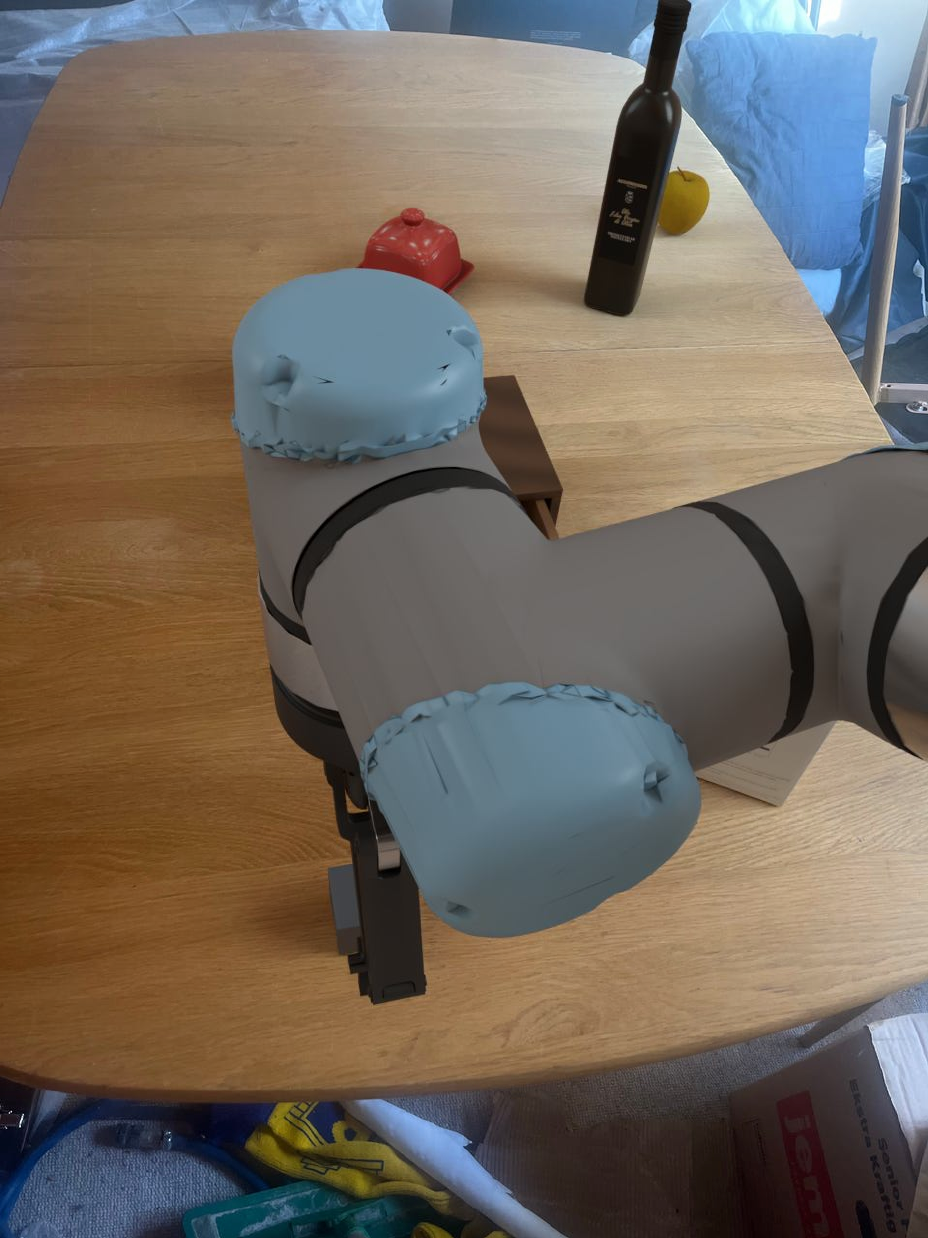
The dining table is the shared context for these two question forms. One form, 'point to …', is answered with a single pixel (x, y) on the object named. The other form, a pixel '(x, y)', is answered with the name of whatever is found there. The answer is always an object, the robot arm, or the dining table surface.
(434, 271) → the butter dish
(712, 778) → the supplement box
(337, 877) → the block
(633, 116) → the wine bottle
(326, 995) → the dining table surface
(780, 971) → the dining table surface
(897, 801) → the dining table surface
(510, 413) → the cabinet
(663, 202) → the apple
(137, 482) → the dining table surface
